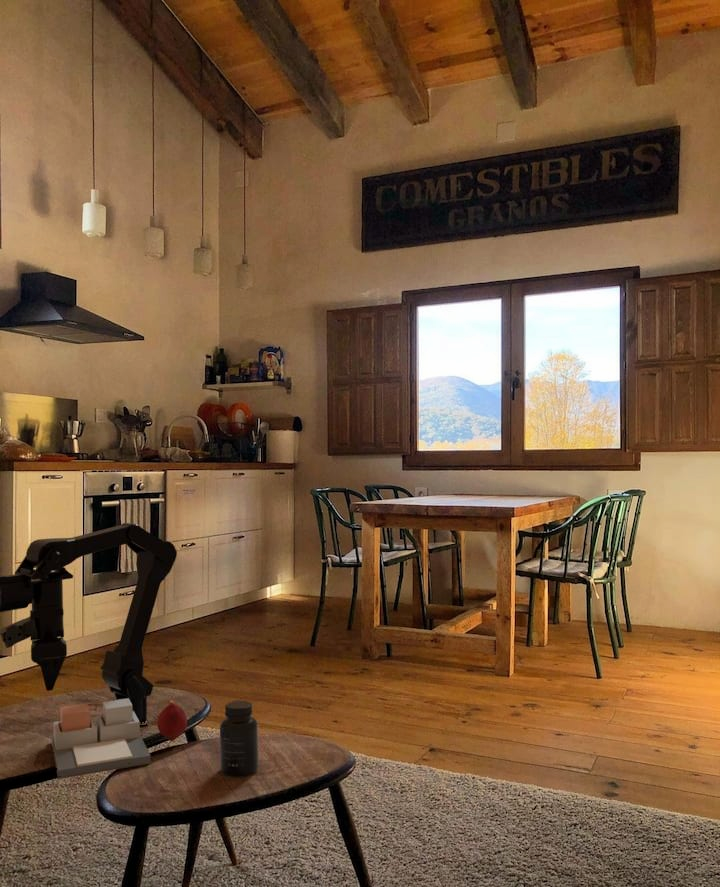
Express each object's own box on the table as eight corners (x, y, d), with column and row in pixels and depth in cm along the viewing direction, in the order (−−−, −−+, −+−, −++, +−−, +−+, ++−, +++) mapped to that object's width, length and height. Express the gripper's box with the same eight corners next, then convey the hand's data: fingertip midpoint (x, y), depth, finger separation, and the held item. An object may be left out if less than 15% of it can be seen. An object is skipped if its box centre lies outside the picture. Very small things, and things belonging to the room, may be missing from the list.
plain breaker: (128, 717, 159) (128, 698, 159) (132, 725, 155) (132, 705, 155) (102, 721, 157) (102, 701, 157) (106, 729, 153) (106, 708, 153)
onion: (185, 733, 160) (185, 694, 160) (188, 743, 155) (188, 703, 155) (156, 737, 158) (156, 697, 159) (158, 747, 153) (158, 706, 153)
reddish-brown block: (87, 723, 156) (87, 703, 156) (89, 731, 152) (89, 711, 152) (60, 727, 154) (60, 707, 154) (62, 735, 149) (62, 714, 149)
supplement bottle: (227, 761, 146) (227, 697, 146) (262, 764, 145) (262, 698, 145) (214, 777, 139) (214, 709, 139) (251, 779, 138) (251, 711, 138)
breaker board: (134, 730, 162) (134, 708, 162) (150, 763, 145) (150, 739, 145) (51, 742, 156) (51, 720, 156) (58, 778, 138) (58, 753, 138)
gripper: (3, 599, 159) (5, 676, 159) (0, 618, 142) (2, 704, 142) (62, 594, 163) (64, 669, 164) (66, 611, 146) (67, 695, 146)
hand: (49, 683), depth 154 cm, fingers open, 9 cm apart
